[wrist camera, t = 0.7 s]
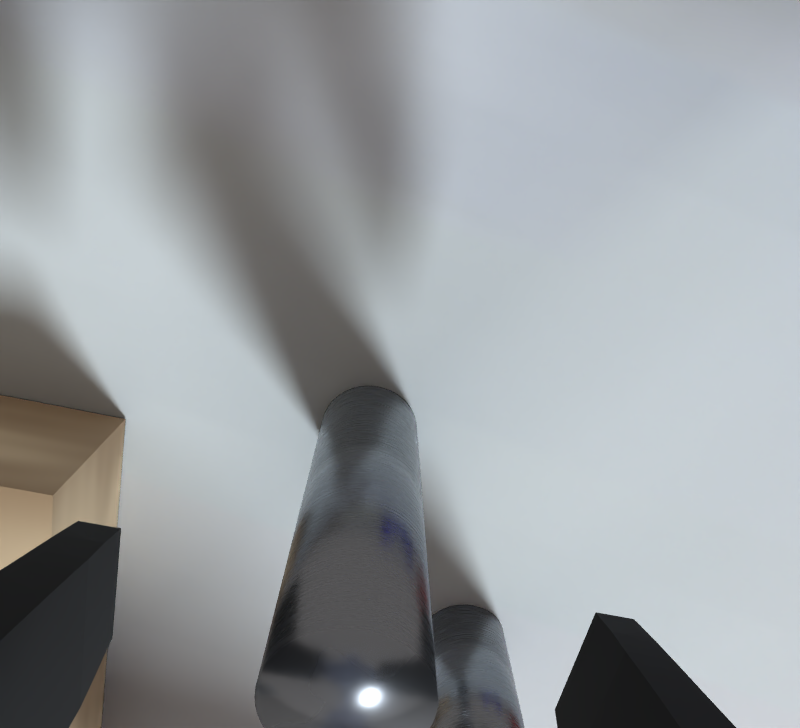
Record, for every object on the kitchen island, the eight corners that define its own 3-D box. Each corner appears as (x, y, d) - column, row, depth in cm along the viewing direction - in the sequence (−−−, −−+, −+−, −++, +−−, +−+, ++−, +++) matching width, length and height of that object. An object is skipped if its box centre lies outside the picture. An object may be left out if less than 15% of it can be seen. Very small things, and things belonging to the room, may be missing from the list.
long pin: (405, 479, 16) (415, 779, 9) (314, 462, 16) (243, 752, 8) (426, 396, 15) (458, 647, 8) (331, 377, 15) (269, 615, 8)
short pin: (491, 675, 18) (519, 835, 14) (412, 662, 18) (418, 820, 14) (513, 612, 18) (551, 762, 13) (432, 598, 17) (444, 745, 13)
